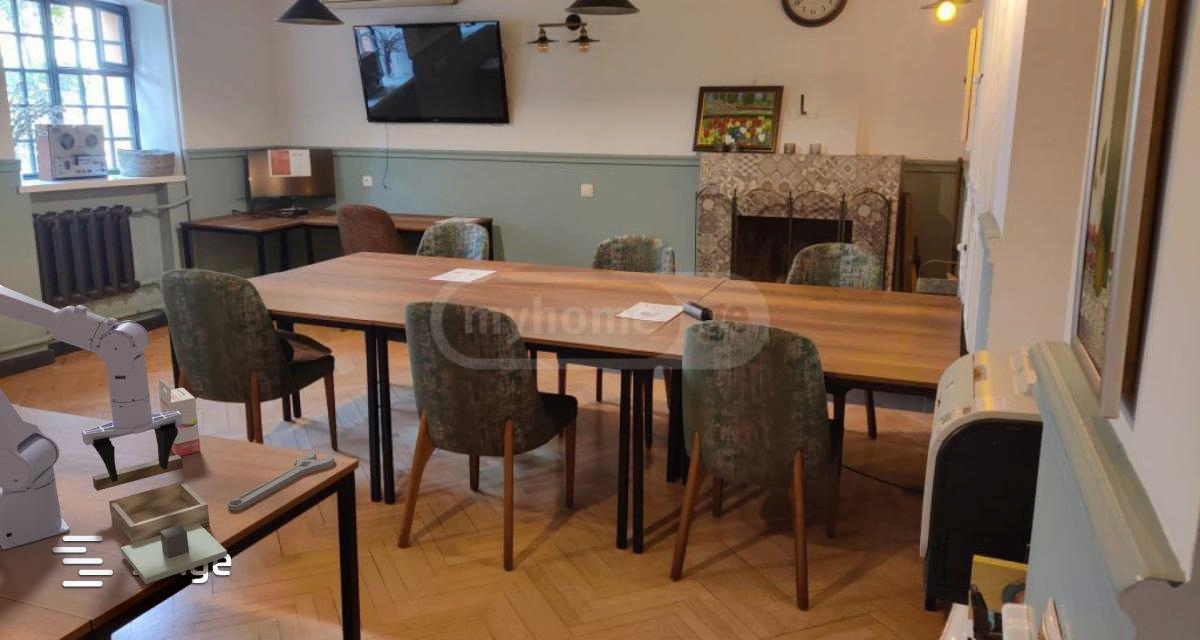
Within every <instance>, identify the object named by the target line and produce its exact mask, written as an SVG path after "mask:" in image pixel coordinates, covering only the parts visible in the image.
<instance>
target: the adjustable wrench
mask: <svg viewBox="0 0 1200 640" xmlns="http://www.w3.org/2000/svg"><path fill="white" fill-rule="evenodd" d="M313 453H314V454H313ZM313 453H312V452H311V453H309V454H305V455H303V456H301V457H300V458H295V462H294V467H292V468H291V469H288V470H287V471H284V472H282V473H281V474H279V475H277V476H275V477H273V478H271V479H270V480H267V481H266V482H264V483H262V484H260V485H258V486H256V487H254V488H252V489H251V490H249V491H247V492H245V493H243V494H240V495H239V496H237V497H235V498H233V499H231V500H230V501H228V502H227V509H228V511H230V512H238V511H241V510H243V509H245V508H248V506H250V505H252V504H254V503H256V502H258V501H259V500H261V499H263V498H265V497H266V496H268V495H270V494H272V493H273V491H274V492H275V491H277V490H279V489H280V487H281V488H282V487H284V486H286V485H288V484H289V483H288V482H290V483H291V482H293V481H295V480H297V479H299V478H300V477H302V476H305V475H307V473H308V474H311V473H313V471H314V472H317V470H318V471H321V469H322V470H325V469H328V468H330V467H332V466H333V465H334V464H335V456H334V454H333V453H329V454H328V455H327V457H325V458H321V459H320V458H319V459H317V453H316V452H313ZM310 472H311V473H310ZM304 474H305V475H304ZM301 475H302V476H301ZM299 476H300V477H299ZM296 478H297V479H296ZM294 479H295V480H294ZM292 480H293V481H292ZM287 483H288V484H287ZM285 484H286V485H285ZM283 485H284V486H283ZM278 488H279V489H278ZM276 489H277V490H276Z"/></svg>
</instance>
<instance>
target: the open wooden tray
mask: <svg viewBox="0 0 1200 640" xmlns="http://www.w3.org/2000/svg"><path fill="white" fill-rule="evenodd" d="M108 504H109V512H110V518H111V523H112V525H113V524H114V525H115V526H116V527H115V526H114V525H113V526H114V527H115V529H118V530H119V531H118V530H117V531H118V532H119V533H120V534H121V536H122V537H123V538H124V540H126V542H127V543H128V545H130V544H134V543H137V542H140V541H143V540H147V539H150V538H153V537H156V536H159V535H160V531H162V530H165V529H169V528H172V527H175V526H178V525H181V526H182V527H183V528H185V527H188V526H192V525H195V524H198V523H199V524H200V525H201V526H202V527H204V528H206V526H207V527H209V526H208V525H210V526H211V524H210V522H211V521H210V516H209V514H210V513H209V505H208V503H207V502H206V501H205V500H204V499H203V498H202V497H200V495H198V494H197V493H196V492H195V491H194V490H193V489H192V488H191V487H190V486H189V485H187V484H186V483H185V481H184V480H182V481H178V482H175V483H171V484H168V485H167V484H166V485H163V486H160V487H156V488H153V489H149V490H145V491H142V492H138V493H134V494H131V495H128V496H123V497H120V498H116V499H113V500H109V501H108Z"/></svg>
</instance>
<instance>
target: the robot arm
mask: <svg viewBox="0 0 1200 640" xmlns="http://www.w3.org/2000/svg"><path fill="white" fill-rule="evenodd" d="M87 309H88V308H87V307H86V306H85V305H82V304H79V305H76V306H74V305H68V306H65V307H63V308H60V309H59V308H57V307H54V306H53V305H50V304H47V303H45V302H43V301H40V300H37V299H35V298H33V297H30V296H28V295H26V294H23V293H21V292H18V291H16V290H12V289H11V288H8V287H5V286H3V285H1V284H0V315H1V316H4V317H8V318H9V319H10V318H12V319H15V320H17V321H21V322H23V323H24V322H25V323H29V324H31V325H33V326H38V327H42V328H45V329H48V330H49V331H50V333H51V336H52V337H53V339H54V340H57V341H60V342H63V343H65V344H69V345H72V346H75V347H78V348H81V349H84V350H87V351H89V352H93V353H95V354H97V355H98V358H99V359H100V360H101V361H103V363H104V364H105V366H106V367H105V368H106V377H107V385H108V386H107V387H108V392H109V394H108V395H109V402H110V410H111V418H112V421H110V422H107V423H103V424H101V425H98V426H95V427H92V428H87V429H84V430H81V435H82V442H83V443H84V444H85V446H90V445H92V447H93V448H94V449H95V451H96V452H97V454H98V455H99V457H100V458H101V460H102V461H103V463H104V466H105V468H106V470H107V473H109V477H110V479H111V480H112V482H116V481H118V476H117V471H116V470H117V467H116V459H115V458H116V457H115V456H116V455H115V452H116V451H115V450H116V449H115V446H114V445H113V444H112V440H111V439H115V438H120V437H123V436H128V435H133V434H134V435H136V434H141V433H145V432H147V431H151V430H154V434H155V437H156V444H157V455H158V459H157V460H159V465H160V467H161V468H162V469H163V470H164V469H167V468H168V460H169V457H170V454H171V452H172V451H171V448H172V445H173V443H174V441H175V438H176V437H177V435H178V429H177V428H176V426H175V425H181V424H182V415H181V413H180V412H179V411H173V412H166V413H161V412H157V413H152V405H151V395H150V387H149V378H148V369H147V368H148V367H147V362H146V354H145V350H146V349H147V347H148V346H149V343H150V337H149V334H148V331H147V330H146V328H145V327H144V326H143V325H141V324H140V323H137V322H136V321H134V320H123V321H120V322H118V319H117V318H114V317H109V318H107V317H105V316H102V315H99V314H96V313H93V312H90V311H87ZM59 457H60V448H59V446H58V444H57V442H56V441H55V440H54V439H53V438H51V437H49V436H47V435H46V434H45V433H43V431H42V430H41V429H40V427H39V426H38V425H36V424H33V423H31V422H28V421H24V420H23V419H22V418H21V416H20V414H19V413H18V412H17V410H16V409H15V407H14V406H13V405H12V403H11V401H10V400H9V398H8V397H7V396H6V394H5V392H4V391H3V390H2V388H1V387H0V546H1V549H2V550H8V549H11V548H15V547H18V546H22V545H26V544H29V543H32V542H36V541H39V540H43V539H46V538H50V537H54V536H57V535H60V534H64V533H67V532H69V531H70V527H69V525H68V523H67V522H66V520H65V519H64V518H63V517H62V514H61V507H60V502H59V495H58V487H57V482H56V474H55V469H54V465H55V464H56V463H57V461H58V460H59Z"/></svg>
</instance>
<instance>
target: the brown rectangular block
mask: <svg viewBox="0 0 1200 640" xmlns="http://www.w3.org/2000/svg"><path fill="white" fill-rule="evenodd" d="M182 459H183V458H182V457H181V456H179V455H175V454H174V455H172V456H169V460H168V468H167V469H164V470H163V469H162V468H161V467H160V465H159V459H156V460H152V461H148V462H144V463H140V464H137V465H133V466H127V467H124V468H120V469H116V471H117V476H118V481H116V482H112V480H111V479H110V477H109V473H108V472H104V473H100V474H96V475H92V483H93V488H94V490H96V492H99V491H103V490H107V489H110V488H113V487H117V486H122V485H125V484H128V483H133V482H136V481H140V480H144V479H147V478H152V477H155V476H159V475H162V474H163V475H164V474H166V473H169V472H173V471H179V470H181V469H184V466H183V460H182Z"/></svg>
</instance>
